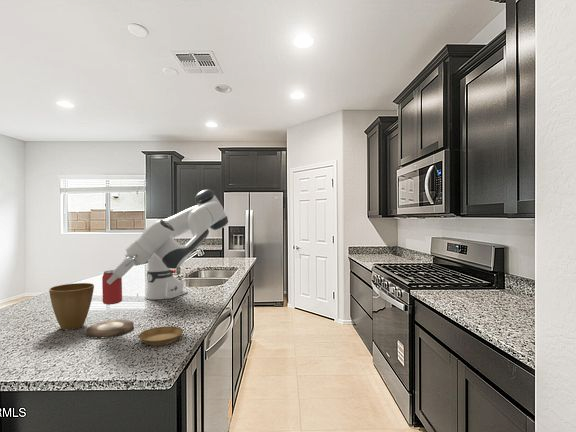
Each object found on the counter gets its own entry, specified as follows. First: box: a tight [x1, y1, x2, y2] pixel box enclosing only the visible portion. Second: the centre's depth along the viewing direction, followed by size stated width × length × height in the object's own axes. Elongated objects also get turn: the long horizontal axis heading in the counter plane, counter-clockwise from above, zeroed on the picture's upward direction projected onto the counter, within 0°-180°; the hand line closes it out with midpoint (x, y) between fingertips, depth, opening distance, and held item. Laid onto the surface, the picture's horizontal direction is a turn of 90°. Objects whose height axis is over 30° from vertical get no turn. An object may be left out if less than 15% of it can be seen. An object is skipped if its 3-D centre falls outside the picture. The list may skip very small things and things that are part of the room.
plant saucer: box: [137, 325, 184, 347], centre depth 117 cm, size 15×15×3 cm
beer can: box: [101, 269, 123, 306], centre depth 127 cm, size 7×7×12 cm
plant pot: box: [48, 282, 95, 331], centre depth 131 cm, size 15×15×16 cm
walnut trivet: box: [85, 319, 135, 339], centre depth 127 cm, size 16×16×2 cm
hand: (110, 280), depth 127 cm, fingers closed on beer can, 7 cm apart
